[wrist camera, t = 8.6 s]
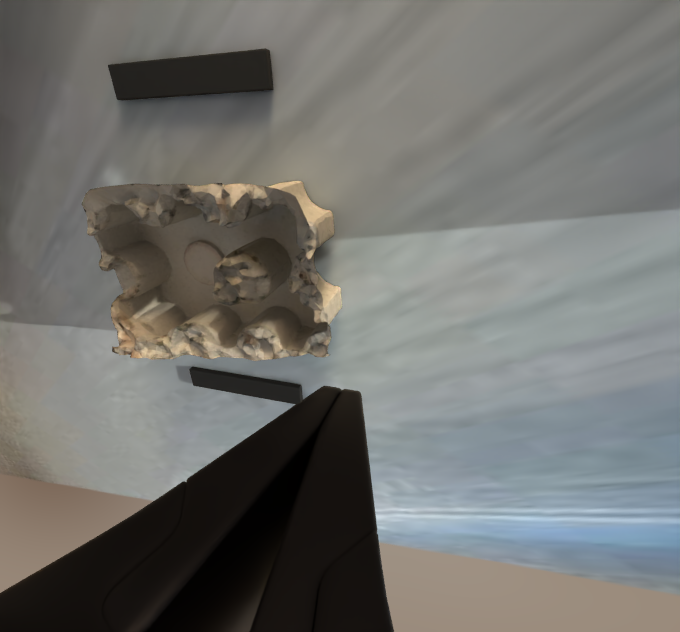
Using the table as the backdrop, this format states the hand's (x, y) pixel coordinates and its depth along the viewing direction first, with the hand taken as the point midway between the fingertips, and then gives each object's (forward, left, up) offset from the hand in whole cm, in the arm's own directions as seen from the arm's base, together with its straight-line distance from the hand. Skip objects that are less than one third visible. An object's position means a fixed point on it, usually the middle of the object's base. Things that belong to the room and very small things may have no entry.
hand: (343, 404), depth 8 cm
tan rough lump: (+8, 0, -9) cm, 11 cm away
